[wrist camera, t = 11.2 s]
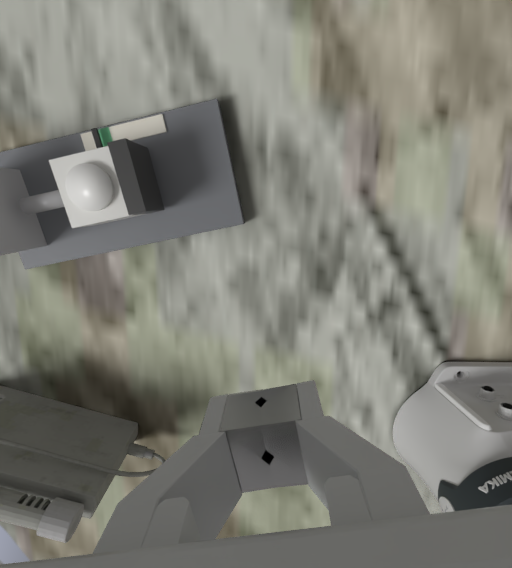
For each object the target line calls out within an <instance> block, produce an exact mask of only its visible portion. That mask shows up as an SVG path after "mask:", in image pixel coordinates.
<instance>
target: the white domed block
mask: <svg viewBox="0 0 512 568" xmlns="http://www.w3.org/2000/svg"><path fill="white" fill-rule="evenodd" d="M91 131H92V135H93V138H94V141H95V144H96V148H97V149H93V150H89V151H85V152H81V153H76V154H72V155H68V156H64V157H60V158H56V159H52V160H49V163H50V166H51V169H52V172H53V175H54V178H55V180H56V183H57V186H58V189H59V190H55V191H51V192H47V193H42V194H38V195H34V196H29V197H25V198H21V199H20V201H19V205H20V208H21V209H22V211H23V212H24V213H26V214H28V215H30V214H35V213H39V212H44V211H48V210H53V209H57V208H61V207H65V210H66V212H67V215H68V218H69V221H70V224H71V227H72V228H78V227H86V226H93V225H98V224H103V223H108V222H112V221H117V220H121V219H126V218H131V217H135V216H140V215H144V214H149V213H154V212H158V211H163V210H165V209H164V206H163V202H162V198H161V194H160V191H159V187H158V183H157V180H156V176H155V172H154V168H153V165H152V161H151V157H150V154H149V150H148V148H147V147H144V146H142V145H140V144H137V143H135V142H133V141H131V140H128V139H126V138H124V139H120V140H116V141H112V142H107V144H108V146H105V147H103V144H102V141H101V137H100V134H99V131H98V129H97V128H94V129H91Z"/></svg>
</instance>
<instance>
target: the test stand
mask: <svg viewBox="0 0 512 568" xmlns="http://www.w3.org/2000/svg"><path fill="white" fill-rule="evenodd" d="M97 129H98V131H99V134H100V137H101V141H102V144H103V147H105V146H108V144H107V142H112V141H116V140H120V139H124V138H126V139H128V140H131V141H133V142H135V143H137V144H140V145H142V146H144V147H147V148H148V150H149V154H150V157H151V161H152V165H153V168H154V172H155V176H156V180H157V183H158V187H159V191H160V194H161V198H162V202H163V206H164V209H165V210H163V211H158V212H154V213H149V214H144V215H140V216H135V217H131V218H126V219H121V220H117V221H112V222H108V223H103V224H98V225H93V226H86V227H78V228H72V227H71V224H70V221H69V218H68V215H67V212H66V210H65V207H61V208H57V209H53V210H48V211H44V212H39V213H35V214H30V215H28V214H26V213H24V212H23V211H22V209H21V208H20V205H19V201H20V199H21V198H25V197H29V196H34V195H38V194H42V193H47V192H51V191H55V190H59V189H58V186H57V183H56V180H55V178H54V175H53V172H52V169H51V166H50V163H49V160H52V159H56V158H60V157H64V156H68V155H72V154H76V153H81V152H85V151H89V150H93V149H97V148H96V144H95V141H94V138H93V135H92V131H91V130H88V131H84V132H80V133H76V134H72V135H68V136H64V137H60V138H56V139H52V140H48V141H44V142H40V143H36V144H32V145H28V146H24V147H20V148H15V149H11V150H7V151H3V152H0V255H5V254H10V253H15V252H19V255H20V257H21V260H22V263H23V265H24V268H25V269H29V268H34V267H39V266H44V265H49V264H53V263H58V262H63V261H68V260H73V259H77V258H82V257H87V256H92V255H97V254H101V253H106V252H111V251H116V250H121V249H125V248H130V247H135V246H140V245H145V244H149V243H154V242H159V241H164V240H169V239H173V238H178V237H183V236H188V235H193V234H197V233H202V232H207V231H212V230H217V229H221V228H226V227H231V226H236V225H241V224H244V223H245V222H244V218H243V213H242V208H241V204H240V199H239V194H238V189H237V185H236V180H235V175H234V171H233V166H232V161H231V156H230V152H229V147H228V142H227V138H226V133H225V128H224V123H223V119H222V114H221V109H220V105H219V102H218V100H217V99H214V100H210V101H206V102H201V103H197V104H193V105H189V106H185V107H181V108H177V109H173V110H169V111H165V112H161V113H157V114H153V115H149V116H145V117H141V118H137V119H133V120H129V121H125V122H121V123H117V124H113V125H108V126H104V127H100V128H97Z"/></svg>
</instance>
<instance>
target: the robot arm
mask: <svg viewBox="0 0 512 568" xmlns="http://www.w3.org/2000/svg"><path fill="white" fill-rule="evenodd" d="M459 371H461V372H460V373H459V374H457V373H458V372H459ZM393 441H394V445H395V448H396V450H397V452H398V454H399V455H400V457H401V458H402V459H403V460H404V461H405V462H406V463H407V464H408V465H409V466H410V467H411V468H412V469H413V470H414V471H415V472H416V473H417V475H418V476H419V477H420V478H421V479H422V481H423V482H424V483H425V484H426V486H427V487H428V488H429V490H430V491H431V493H432V494H433V495H434V497H435V498H436V499H437V501H438V502H439V506H440V509H441V512H442V513H436V514H430V513H429V511H428V509H427V507H426V505H425V503H424V501H423V500H422V498H421V496H420V494H419V492H418V490H417V488H416V486H415V484H414V482H413V480H412V478H411V476H410V474H409V472H408V470H407V468H406V466H404V465H403V464H401V463H400V462H398V461H397V460H395V459H394V458H392V457H391V456H389V455H388V454H386V453H385V452H383V451H382V450H380V449H379V448H377V447H376V446H374V445H373V444H371V443H369V442H368V441H366V440H365V439H363V438H362V437H360V436H359V435H357V434H356V433H354V432H353V431H351V430H350V429H348V428H347V427H345V426H344V425H342V424H341V423H339V422H338V421H336V420H335V419H333V418H332V417H330V416H324V415H323V411H322V407H321V403H320V399H319V395H318V391H317V387H316V383H315V381H314V380H312V381H307V382H302V383H297V385H296V384H292V385H286V386H281V387H276V388H270V389H265V390H263V389H262V390H255V391H248V392H240V393H233V394H229V395H228V394H225V395H219V396H214V397H211V398H210V400H209V403H208V406H207V409H206V413H205V416H204V419H203V422H202V426H201V429H200V432H199V435H197V436H193V437H192V438H191V439H190V440H188V441H187V442H186V443H185V444H184V445H183V446H182V447H181V448H179V449H178V450H177V451H176V452H175V453H174V454H173V455H172V456H171V457H169V458H168V459H167V460H166V461H165V462H164V463H163V464H162V465H160V466H159V467H158V468H157V469H156V470H155V471H154V472H153V473H152V474H150V475H149V476H148V477H147V478H146V479H145V480H144V481H143V482H141V483H140V484H139V485H138V486H137V487H136V488H135V489H134V490H133V491H131V492H130V493H129V494H128V495H127V496H126V497H125V498H124V499H122V500H121V501H120V502H119V503H118V504H117V506H116V508H115V510H114V512H113V514H112V516H111V518H110V520H109V522H108V524H107V526H106V528H105V530H104V532H103V534H102V536H101V538H100V540H99V542H98V544H97V546H96V548H95V550H94V552H93V554H88V555H79V556H71V557H62V558H54V559H46V560H37V561H29V562H20V563H12V564H2V565H0V568H512V362H444V363H442V364H440V365H439V366H438V367H437V368H436V370H435V371H434V372H433V374H432V376H431V377H430V379H429V381H428V382H427V383H426V384H425V385H424V386H423V387H422V388H420V389H419V390H418V391H417V392H415V393H414V394H413V395H412V396H410V397H409V398H408V399H407V401H406V402H405V403H404V404H403V405H402V407H401V408H400V410H399V412H398V414H397V416H396V418H395V422H394V426H393ZM305 484H308V485H309V487H310V488H311V489H312V491H313V492H314V493H315V494H316V495H317V497H318V498H319V499H320V500H321V502H322V503H323V504H324V505H325V506H326V508H327V509H328V510H329V515H330V521H331V526H326V527H317V528H309V529H300V530H291V531H283V532H274V533H266V534H257V535H248V536H240V537H231V538H223V539H215V538H216V537H217V535H218V533H219V532H220V530H221V529H222V527H223V525H224V524H225V522H226V520H227V519H228V517H229V515H230V514H231V512H232V511H233V509H234V507H235V506H236V504H237V502H238V501H239V499H240V497H241V496H242V493H244V492H250V491H256V490H262V489H269V488H275V487H285V486H295V485H305Z"/></svg>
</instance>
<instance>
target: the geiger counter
mask: <svg viewBox="0 0 512 568" xmlns="http://www.w3.org/2000/svg"><path fill="white" fill-rule="evenodd" d="M137 435H138V423H136V422H133V421H129V420H125V419H122V418H118V417H114V416H111V415H107V414H104V413H100V412H96V411H93V410H89V409H85V408H82V407H78V406H74V405H71V404H67V403H63V402H60V401H56V400H52V399H49V398H45V397H42V396H38V395H34V394H31V393H27V392H23V391H20V390H16V389H12V388H9V387H5V386H1V385H0V521H3V522H7V523H11V524H15V525H19V526H22V527H26V528H30V529H34V530H37V535H38V536H42V537H45V538H49V539H53V540H57V541H61V542H64V543H66V542H68V541H69V540H70V538H71V537H72V535H73V534H74V532H75V530H76V528H77V526H78V524H79V522H80V520H81V517H85V518H89V519H90V518H91V517H92V515H93V514H94V512H95V510H96V508H97V507H98V505H99V503H100V501H101V499H102V498H103V496H104V494H105V492H106V491H107V489H108V487H109V485H110V483H111V482H112V480H113V478H114V476H115V475H119V476H127V477H141V476H147V475H150V474H152V473H153V472H154V471H155V470H156V469H157V468H156V469H154V470H150V471H145V472H125V471H118V469H119V468H120V466H121V464H122V462H123V460H124V459H125V457H126V455H127V454H129V455H133V456H136V457H140V458H143V457H145V458H148V459H152V458H153V457H155V458H157V459H159V460H160V461H161V462H162V464H163V463H164V462H165V459H164V458H163V457H161V456H160V455H158V454H156V453H154V452H155V450H151V449H148V448H147V447H145V446H141V445H138V444H134V441H135V439H136V437H137Z"/></svg>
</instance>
